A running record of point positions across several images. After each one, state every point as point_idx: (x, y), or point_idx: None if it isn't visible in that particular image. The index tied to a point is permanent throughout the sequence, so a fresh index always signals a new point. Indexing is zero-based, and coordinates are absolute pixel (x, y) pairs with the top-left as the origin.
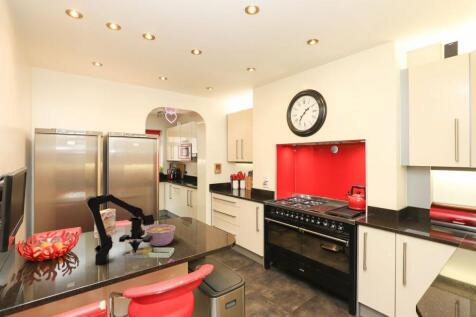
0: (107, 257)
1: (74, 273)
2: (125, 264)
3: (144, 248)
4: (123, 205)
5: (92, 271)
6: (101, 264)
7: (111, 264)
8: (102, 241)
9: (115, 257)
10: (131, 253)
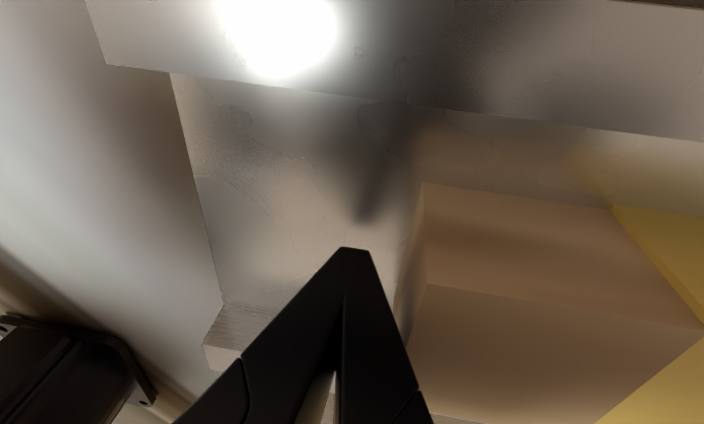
0: (44, 387)
1: None
2: (332, 401)
3: (657, 350)
4: None
5: (136, 420)
6: (117, 412)
7: (185, 374)
8: None
9: (56, 231)
10: (245, 196)
